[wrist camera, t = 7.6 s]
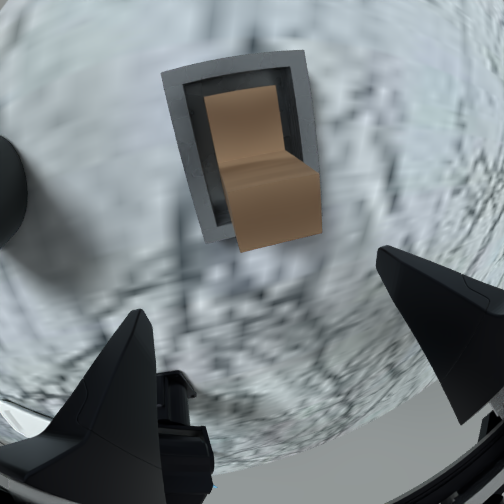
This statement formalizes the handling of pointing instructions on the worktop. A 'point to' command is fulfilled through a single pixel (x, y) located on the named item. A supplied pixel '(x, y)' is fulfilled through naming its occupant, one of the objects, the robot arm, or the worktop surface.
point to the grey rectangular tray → (198, 131)
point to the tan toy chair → (261, 170)
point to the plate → (24, 419)
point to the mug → (11, 192)
